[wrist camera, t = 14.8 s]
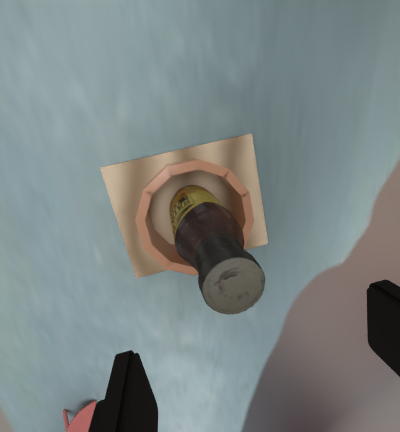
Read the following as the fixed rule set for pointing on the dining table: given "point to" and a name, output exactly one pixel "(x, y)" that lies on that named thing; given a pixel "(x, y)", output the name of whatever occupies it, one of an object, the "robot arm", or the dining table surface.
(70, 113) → the dining table surface
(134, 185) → the birch board
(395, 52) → the dining table surface
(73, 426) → the figurine
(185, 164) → the jar collar
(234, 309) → the sauce bottle
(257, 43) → the dining table surface
